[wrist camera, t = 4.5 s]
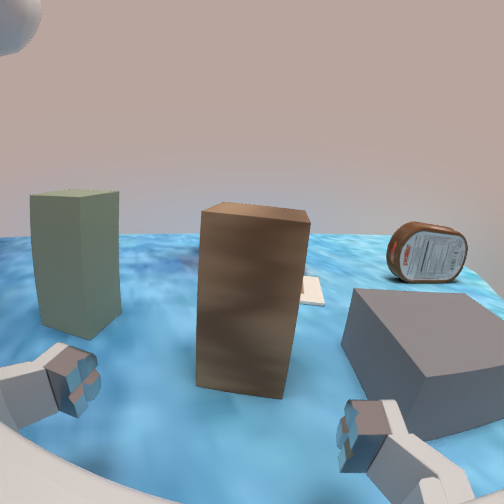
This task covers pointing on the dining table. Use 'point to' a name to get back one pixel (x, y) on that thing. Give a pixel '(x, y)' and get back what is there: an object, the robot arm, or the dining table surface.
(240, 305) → the walnut block
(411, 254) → the tin
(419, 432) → the base block
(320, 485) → the dining table surface
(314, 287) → the card
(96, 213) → the olive block
